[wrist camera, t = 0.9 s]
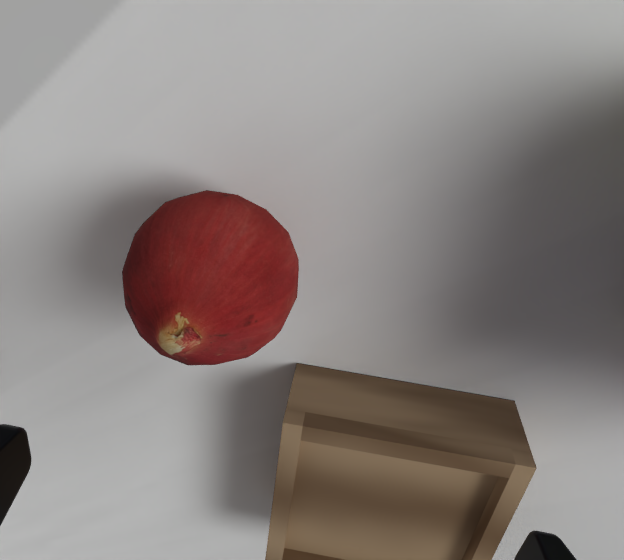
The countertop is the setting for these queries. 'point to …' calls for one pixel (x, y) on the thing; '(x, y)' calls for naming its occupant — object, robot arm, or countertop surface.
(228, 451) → the countertop surface
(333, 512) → the wooden tray
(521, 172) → the countertop surface
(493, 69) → the countertop surface
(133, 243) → the onion
